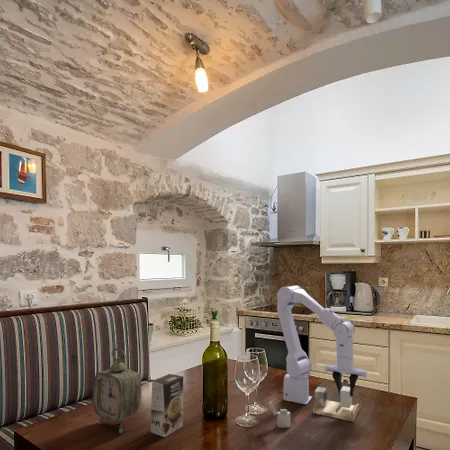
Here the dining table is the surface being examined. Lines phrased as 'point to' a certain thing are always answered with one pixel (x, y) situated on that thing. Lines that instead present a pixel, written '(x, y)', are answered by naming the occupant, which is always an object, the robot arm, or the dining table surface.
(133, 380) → the tabletop clock
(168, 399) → the coffee box
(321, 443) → the dining table surface
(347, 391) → the white rectangular box
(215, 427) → the dining table surface
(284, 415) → the lighter
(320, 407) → the cream tray
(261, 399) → the dining table surface
